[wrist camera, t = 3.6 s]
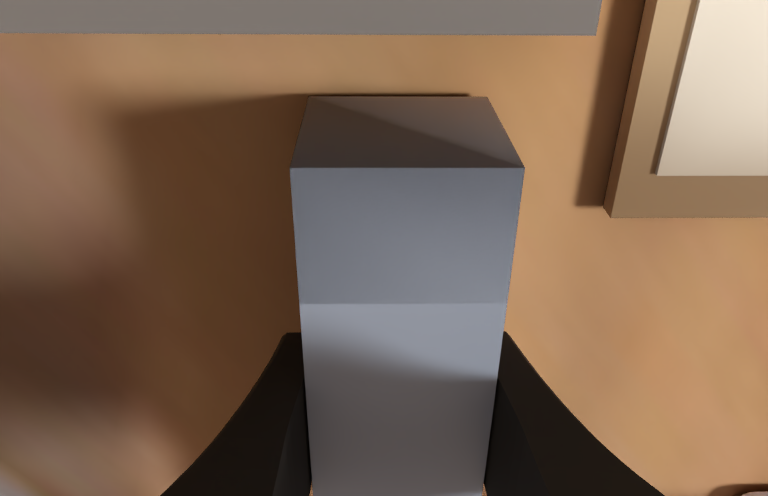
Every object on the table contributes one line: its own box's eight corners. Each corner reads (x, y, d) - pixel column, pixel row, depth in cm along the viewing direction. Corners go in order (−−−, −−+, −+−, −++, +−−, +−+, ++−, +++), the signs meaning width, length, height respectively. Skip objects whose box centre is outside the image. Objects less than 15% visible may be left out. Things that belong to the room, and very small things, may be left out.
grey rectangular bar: (451, 484, 18) (467, 605, 15) (328, 485, 18) (320, 607, 15) (487, 97, 12) (525, 168, 9) (308, 96, 12) (289, 168, 9)
